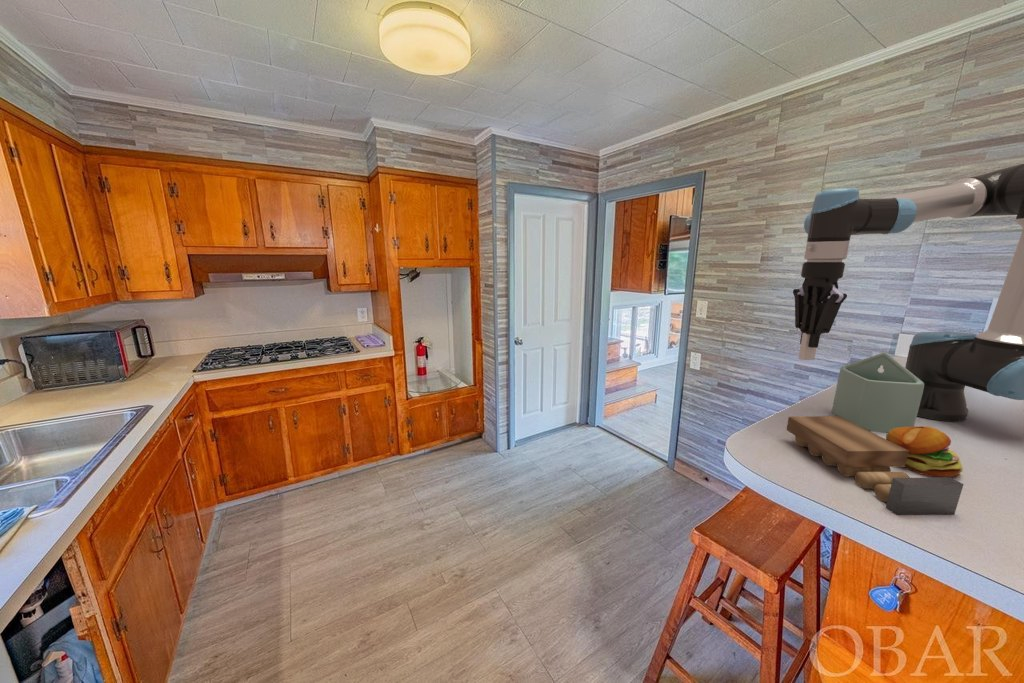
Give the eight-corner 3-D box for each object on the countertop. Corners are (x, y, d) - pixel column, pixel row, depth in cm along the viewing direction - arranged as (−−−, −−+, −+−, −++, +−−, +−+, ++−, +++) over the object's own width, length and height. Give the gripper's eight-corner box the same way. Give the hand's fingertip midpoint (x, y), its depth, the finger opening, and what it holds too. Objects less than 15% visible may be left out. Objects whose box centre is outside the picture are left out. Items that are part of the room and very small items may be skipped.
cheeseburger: (975, 487, 71) (970, 439, 70) (898, 482, 77) (892, 438, 76) (951, 462, 79) (946, 418, 78) (883, 459, 85) (878, 419, 84)
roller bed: (827, 442, 89) (829, 430, 88) (932, 505, 66) (936, 490, 66) (794, 442, 89) (796, 431, 88) (888, 505, 66) (892, 490, 66)
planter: (819, 417, 102) (832, 349, 98) (832, 411, 106) (845, 345, 101) (900, 442, 88) (920, 364, 84) (912, 434, 92) (931, 359, 87)
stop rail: (941, 506, 66) (950, 477, 65) (954, 514, 64) (963, 484, 63) (885, 507, 66) (892, 477, 65) (896, 514, 64) (904, 484, 63)
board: (836, 429, 89) (839, 416, 88) (904, 466, 73) (909, 450, 72) (786, 429, 89) (788, 416, 88) (844, 467, 73) (847, 451, 72)
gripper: (787, 260, 91) (772, 352, 96) (831, 261, 78) (811, 367, 83) (817, 260, 91) (801, 352, 96) (866, 261, 78) (844, 366, 83)
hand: (806, 359), depth 90 cm, fingers closed
